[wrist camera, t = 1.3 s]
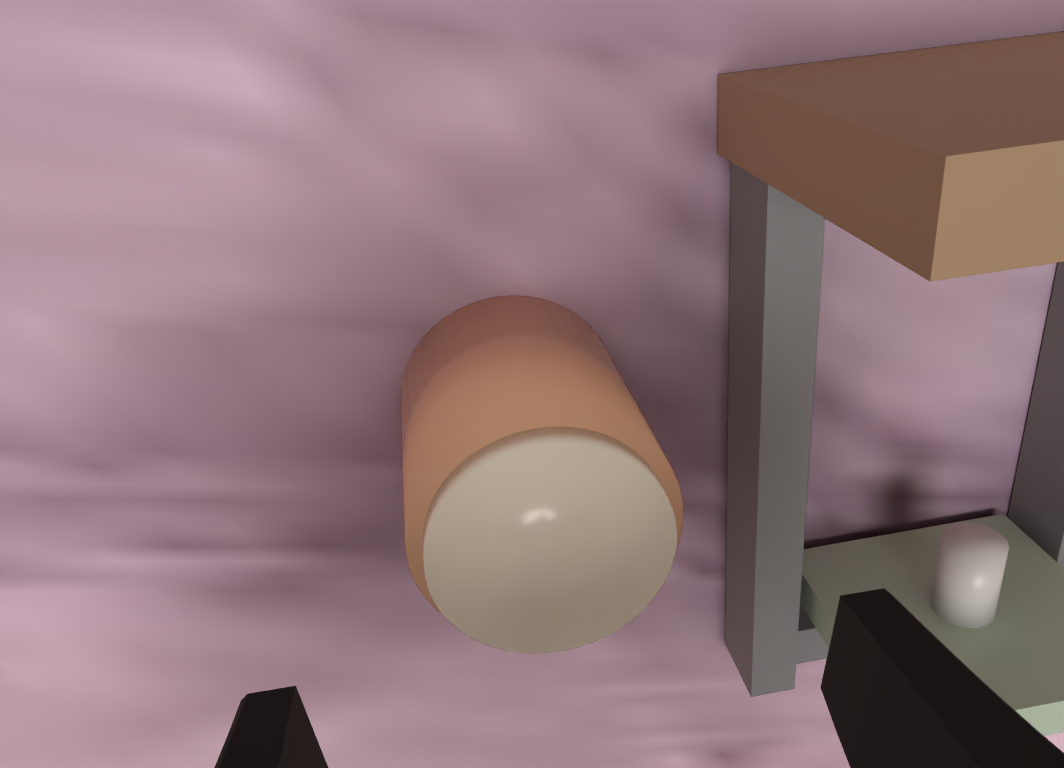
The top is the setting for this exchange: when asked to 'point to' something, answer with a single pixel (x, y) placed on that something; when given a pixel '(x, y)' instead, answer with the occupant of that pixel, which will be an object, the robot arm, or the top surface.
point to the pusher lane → (897, 231)
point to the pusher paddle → (962, 602)
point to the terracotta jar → (531, 480)
